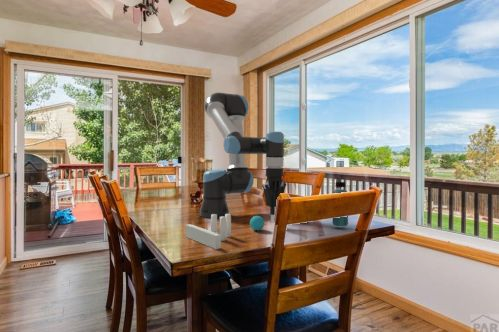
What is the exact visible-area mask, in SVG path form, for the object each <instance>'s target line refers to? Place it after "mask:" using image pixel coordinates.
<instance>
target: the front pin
mask: <svg viewBox="0 0 499 332" xmlns="http://www.w3.org/2000/svg"><path fill="white" fill-rule="evenodd" d="M225 217H226V238H231V237H232V214H231V213H229V214H225Z"/></svg>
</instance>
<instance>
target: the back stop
mask: <svg viewBox="0 0 499 332" xmlns="http://www.w3.org/2000/svg"><path fill="white" fill-rule="evenodd" d="M185 237H186V238H187V239H188V238H189V239H190V240H193V241H196V242H197V243H200V244H203V245H204V246H207V247H209V248H212V249H214V250H218V249H221V248H222V246H221V245H222V241H221V235H220V233H218V232H217V233H214V232H211V230H210V229H209V230H208V229H205V228H204V227H203V228H202V227H200V226H196V225H193V224H192V223H191V224H190V223H189V224H188V223H187V224H185Z"/></svg>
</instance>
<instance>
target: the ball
mask: <svg viewBox="0 0 499 332" xmlns="http://www.w3.org/2000/svg"><path fill="white" fill-rule="evenodd" d="M249 226H250V228H251V229H252V230H254V231H256V230H257V232H258V231H261V230H262V229H264V227H265V220H264V218H263V217H262V216H260V215H254V216H253V217H251V219H250V221H249Z"/></svg>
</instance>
